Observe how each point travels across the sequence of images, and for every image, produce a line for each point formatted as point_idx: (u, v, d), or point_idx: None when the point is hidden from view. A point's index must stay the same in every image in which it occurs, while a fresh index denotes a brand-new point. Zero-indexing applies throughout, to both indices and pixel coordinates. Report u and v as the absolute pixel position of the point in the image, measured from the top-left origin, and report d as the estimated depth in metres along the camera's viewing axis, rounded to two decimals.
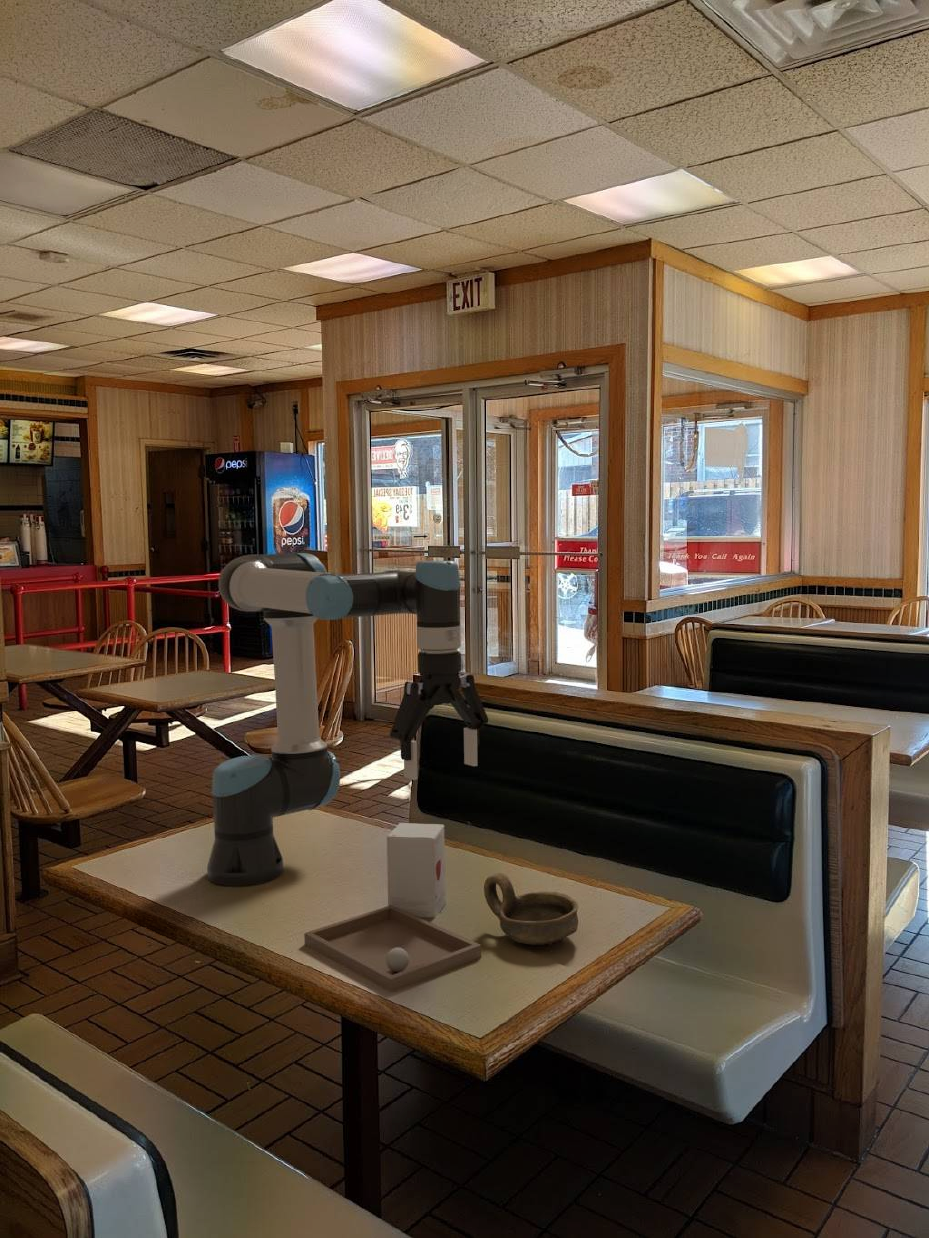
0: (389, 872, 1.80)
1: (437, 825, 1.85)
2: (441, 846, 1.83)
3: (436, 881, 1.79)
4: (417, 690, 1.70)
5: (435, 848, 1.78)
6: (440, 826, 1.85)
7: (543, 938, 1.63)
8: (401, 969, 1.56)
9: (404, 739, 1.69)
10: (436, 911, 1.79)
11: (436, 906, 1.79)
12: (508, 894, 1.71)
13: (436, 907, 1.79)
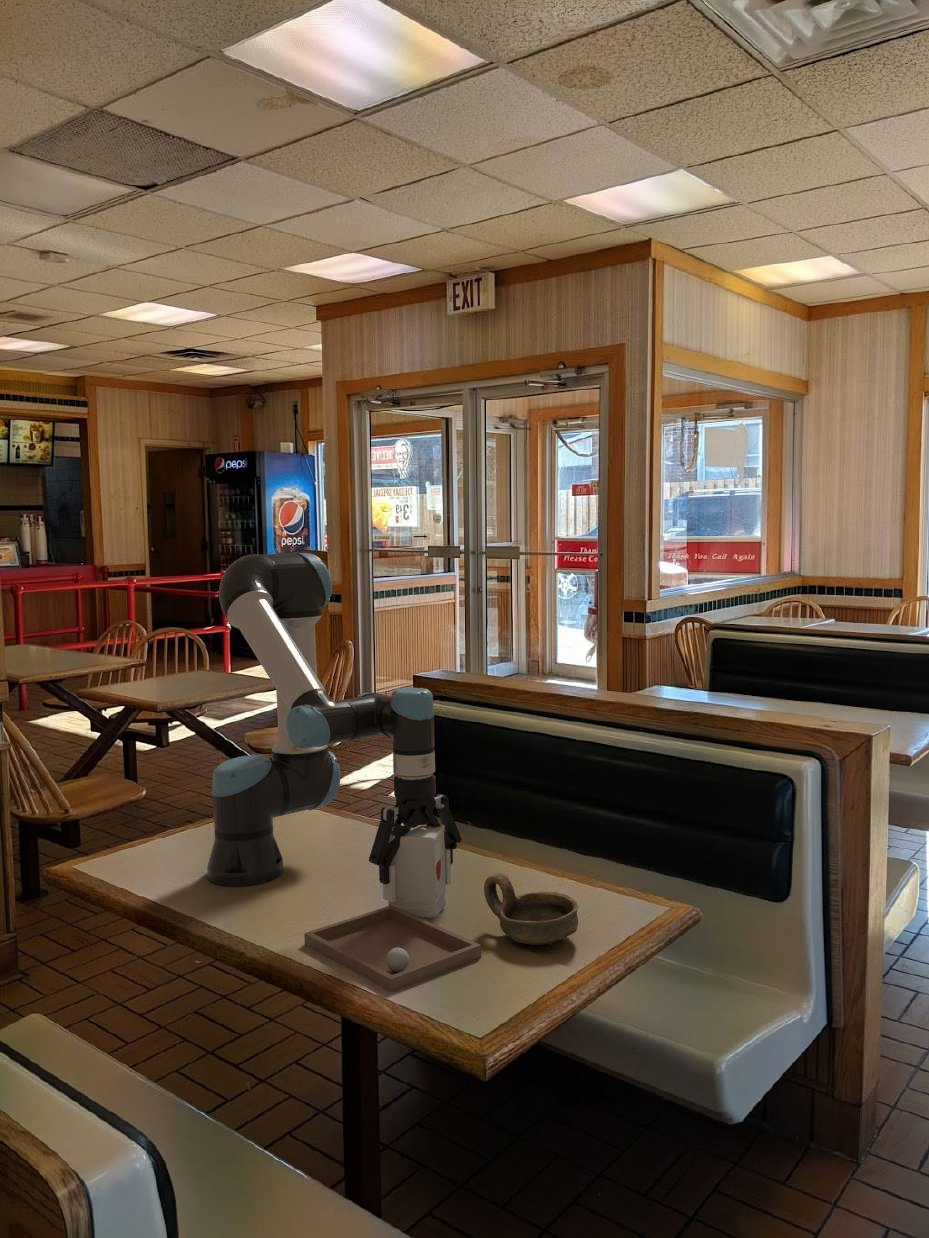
0: None
1: None
2: (441, 846, 1.83)
3: (436, 880, 1.79)
4: (393, 816, 1.77)
5: (435, 848, 1.78)
6: (440, 826, 1.85)
7: (543, 938, 1.63)
8: (401, 969, 1.56)
9: (382, 864, 1.77)
10: (436, 911, 1.79)
11: (436, 906, 1.79)
12: (508, 894, 1.71)
13: (436, 907, 1.79)
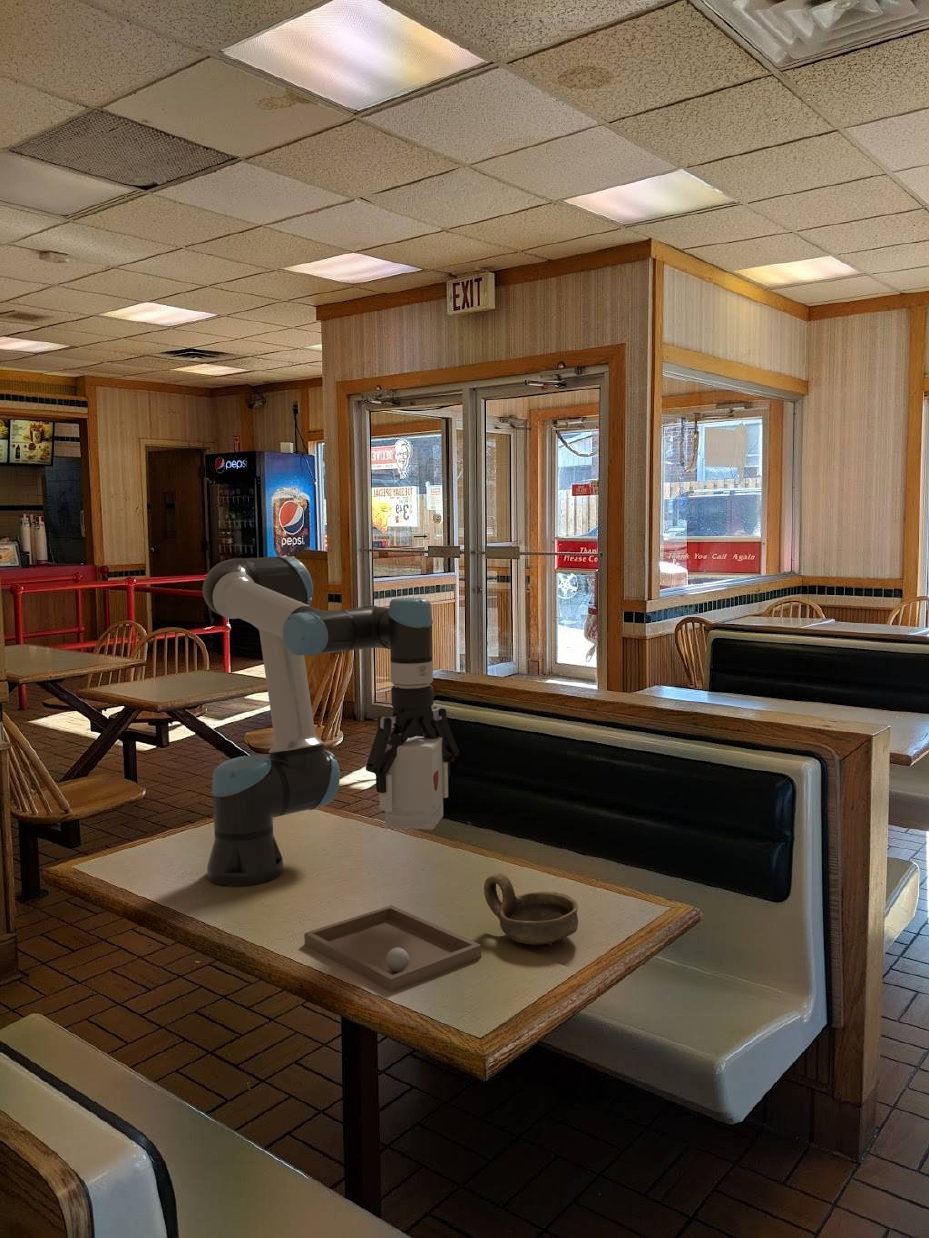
0: None
1: None
2: (439, 757, 1.81)
3: (433, 790, 1.78)
4: (390, 725, 1.76)
5: (433, 758, 1.77)
6: (438, 738, 1.83)
7: (543, 938, 1.63)
8: (401, 969, 1.56)
9: (379, 773, 1.76)
10: (433, 821, 1.78)
11: (433, 816, 1.78)
12: (508, 894, 1.71)
13: (433, 817, 1.78)
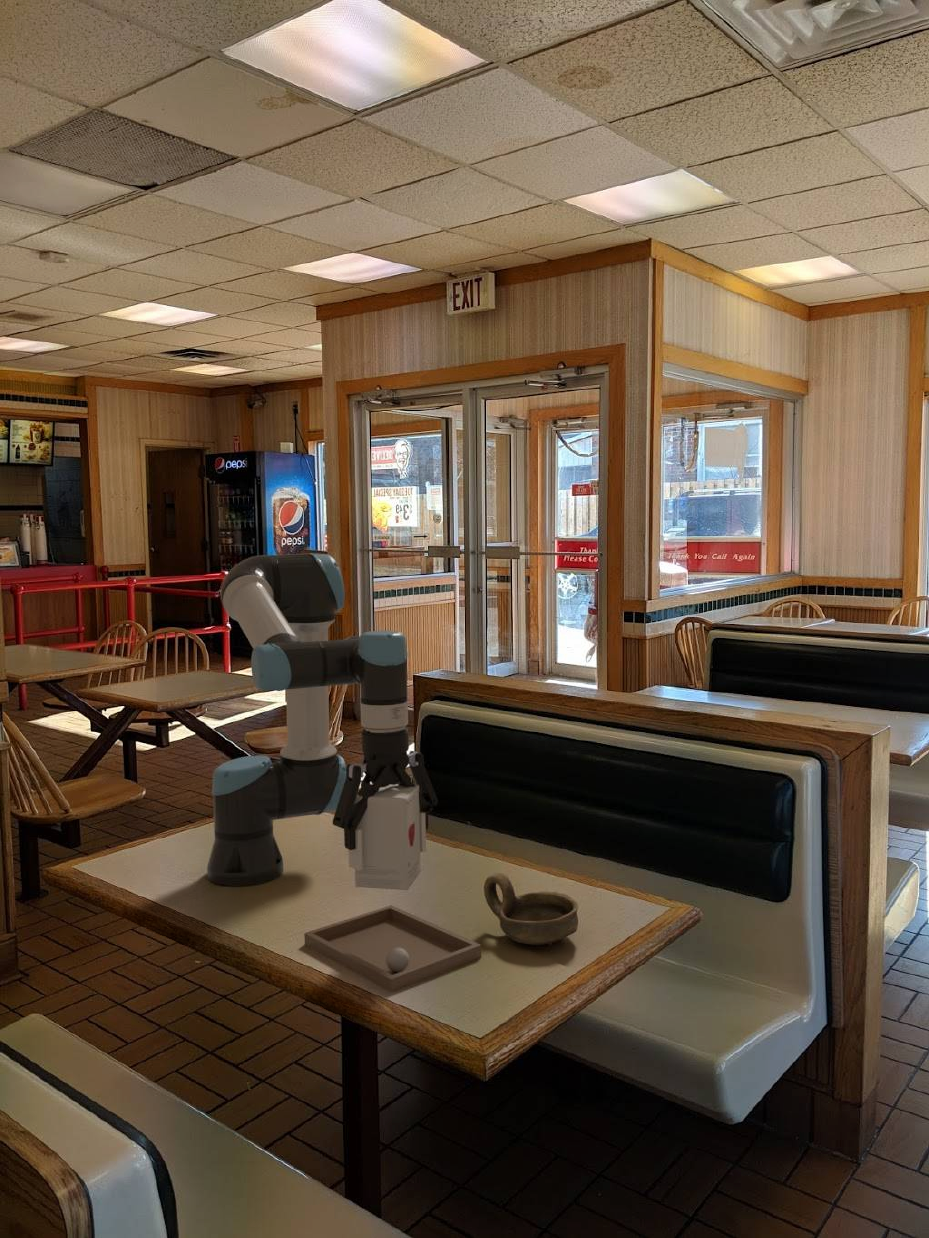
0: None
1: None
2: (415, 808, 1.63)
3: (409, 846, 1.59)
4: (360, 774, 1.58)
5: (408, 810, 1.59)
6: None
7: (543, 938, 1.63)
8: (401, 969, 1.56)
9: (348, 827, 1.57)
10: (409, 880, 1.60)
11: (409, 875, 1.60)
12: (508, 894, 1.71)
13: (409, 876, 1.60)
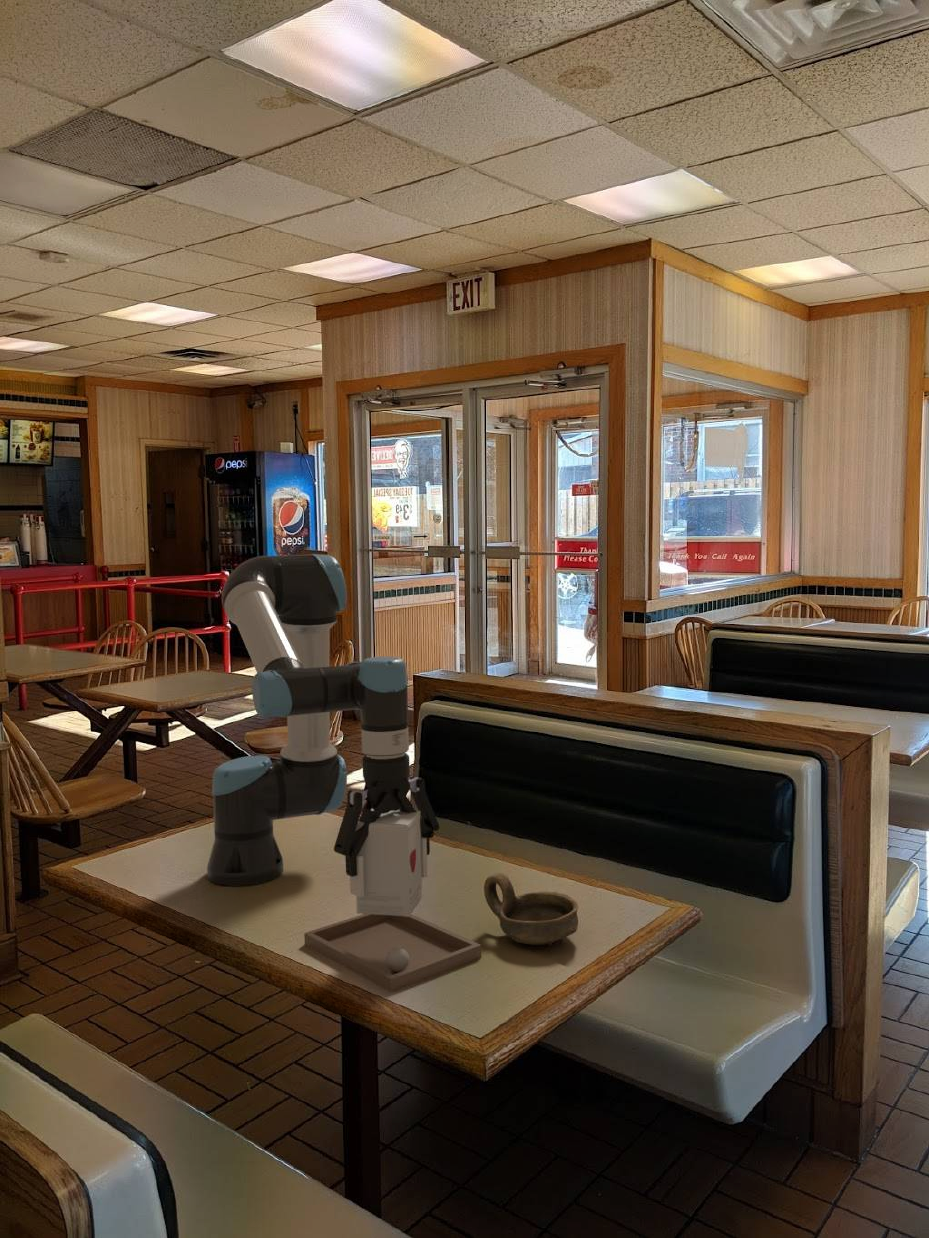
0: None
1: None
2: (416, 834, 1.63)
3: (410, 872, 1.59)
4: (361, 800, 1.58)
5: (409, 836, 1.59)
6: (415, 812, 1.65)
7: (543, 938, 1.63)
8: (401, 969, 1.56)
9: (349, 854, 1.57)
10: (410, 907, 1.60)
11: (410, 901, 1.60)
12: (508, 894, 1.71)
13: (410, 902, 1.60)
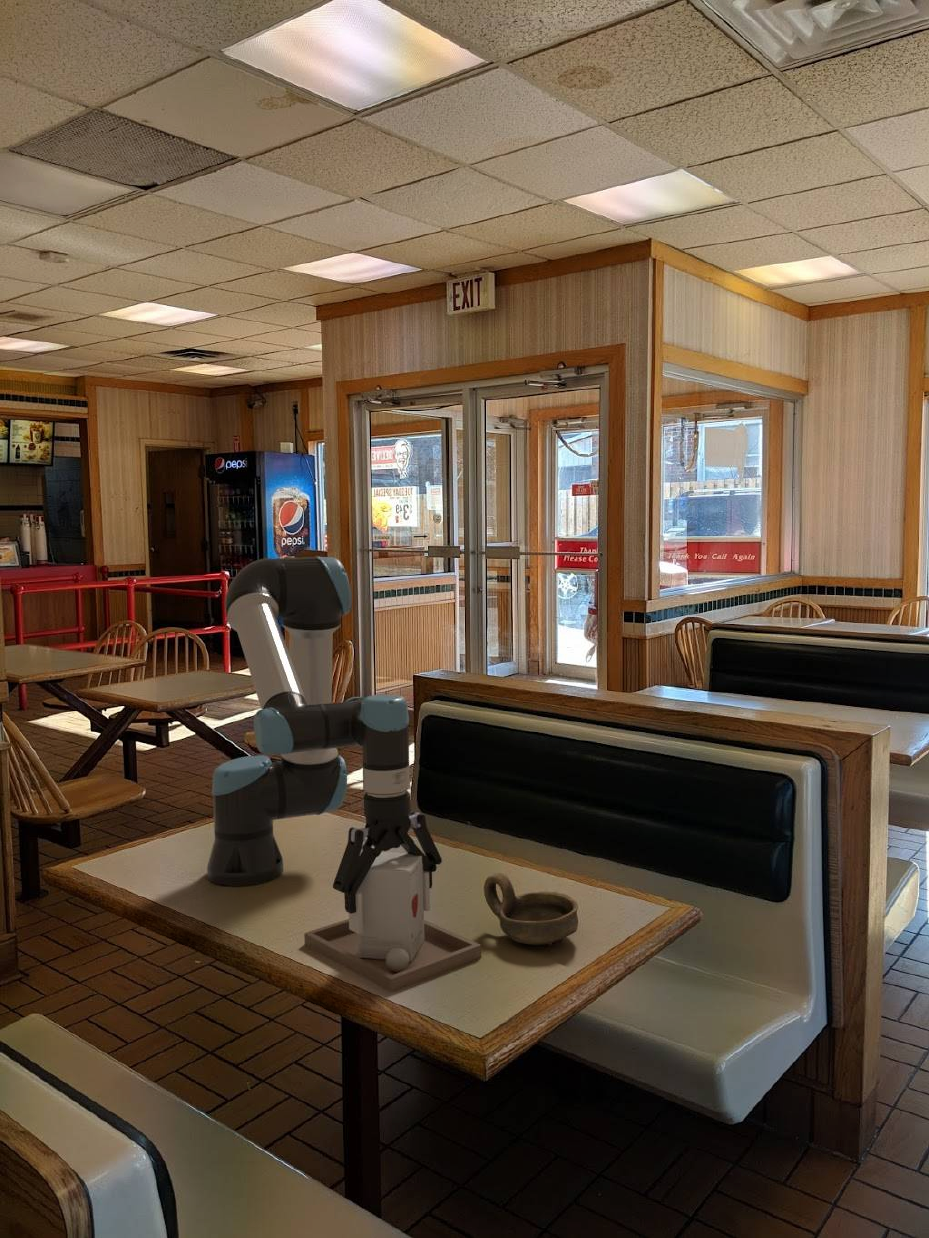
0: None
1: None
2: (418, 878, 1.64)
3: (412, 918, 1.60)
4: (362, 838, 1.58)
5: (411, 882, 1.60)
6: (418, 856, 1.66)
7: (543, 938, 1.63)
8: (401, 969, 1.56)
9: (348, 891, 1.58)
10: (412, 952, 1.61)
11: (412, 946, 1.61)
12: (508, 894, 1.71)
13: (412, 947, 1.61)
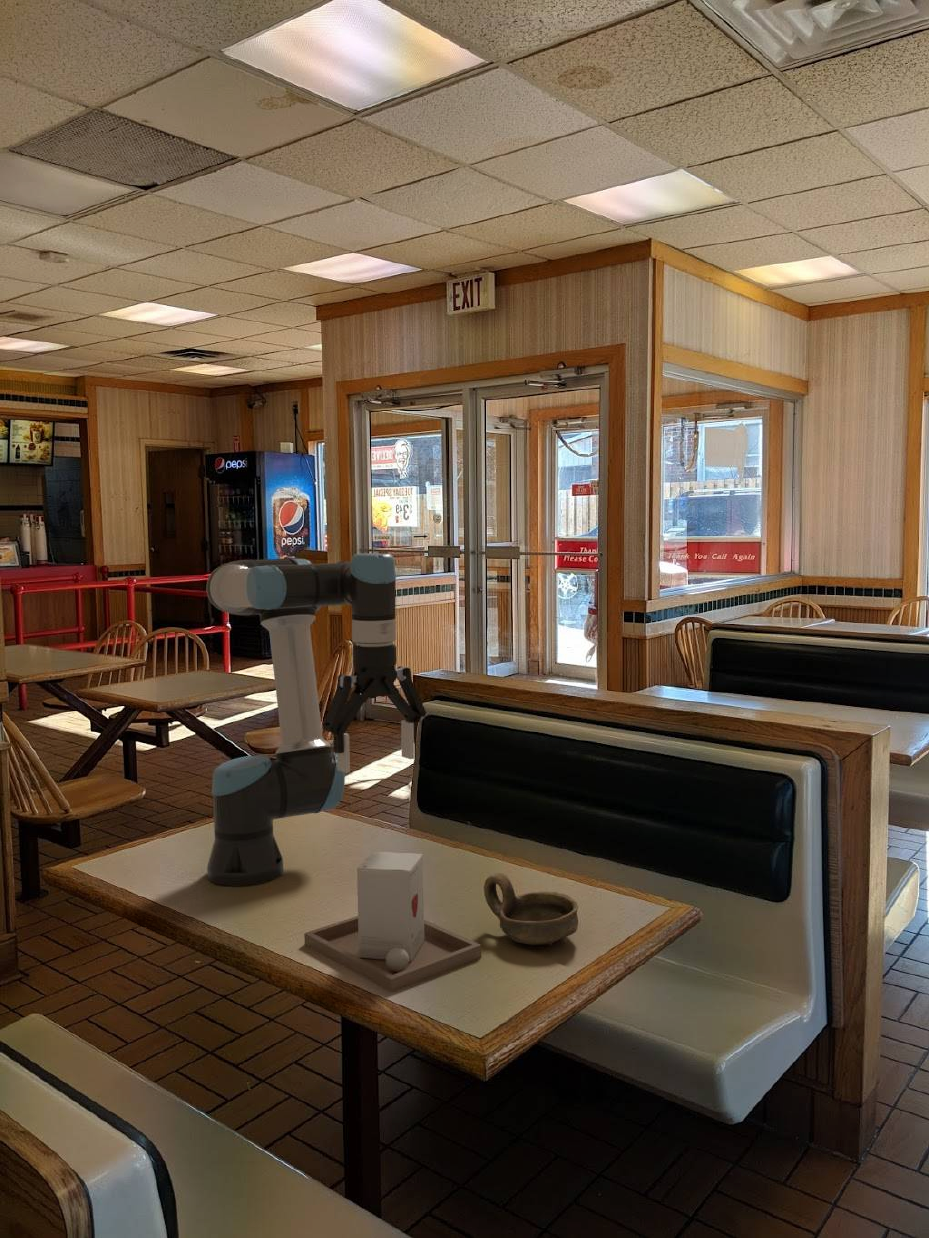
0: (360, 908, 1.61)
1: (414, 855, 1.67)
2: (418, 878, 1.64)
3: (412, 918, 1.60)
4: (350, 683, 1.70)
5: (411, 882, 1.60)
6: (418, 856, 1.66)
7: (543, 938, 1.63)
8: (401, 969, 1.56)
9: (336, 732, 1.69)
10: (412, 952, 1.61)
11: (412, 946, 1.61)
12: (508, 894, 1.71)
13: (412, 947, 1.61)
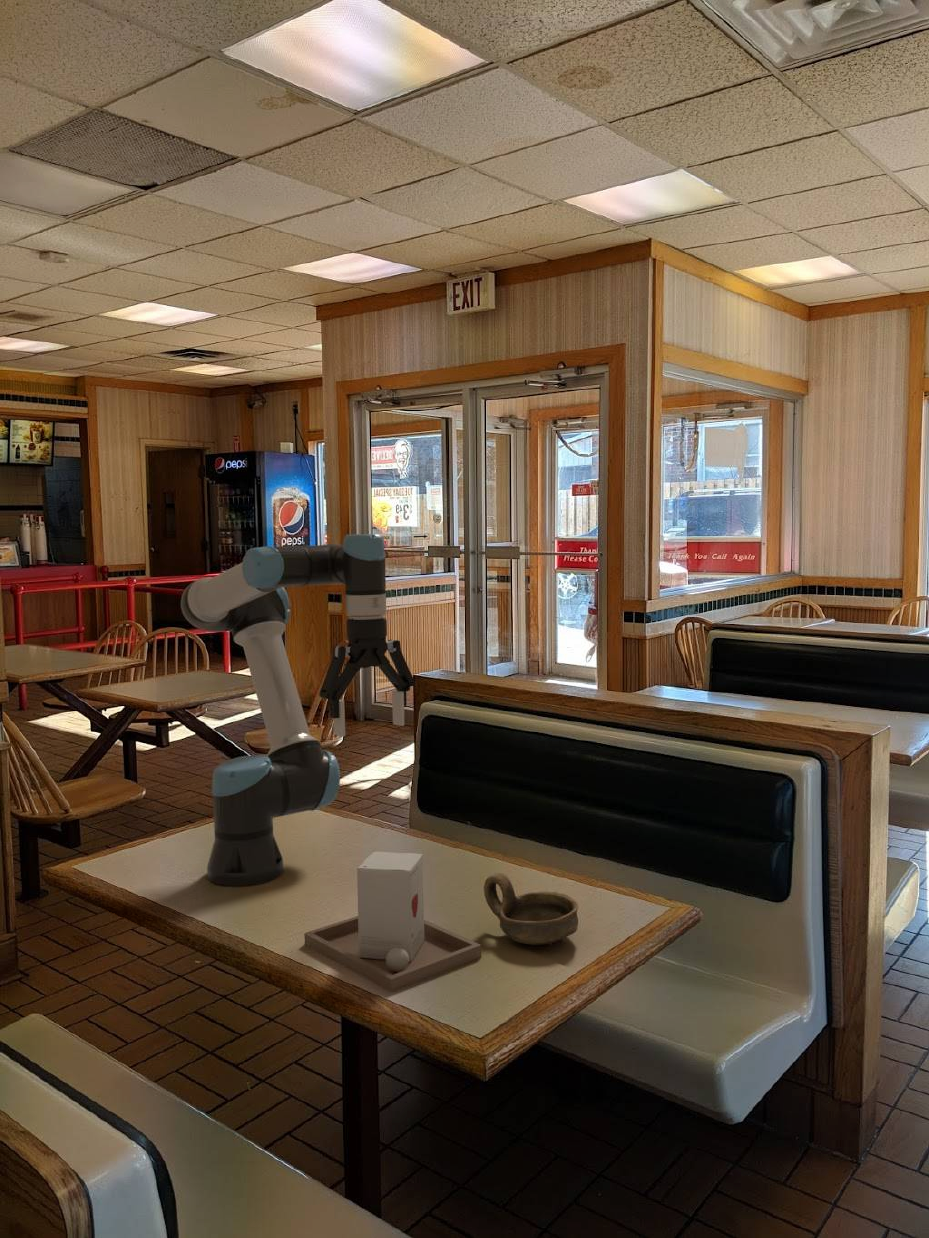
0: (360, 908, 1.61)
1: (414, 855, 1.67)
2: (418, 878, 1.64)
3: (412, 918, 1.60)
4: (344, 653, 1.83)
5: (411, 882, 1.60)
6: (418, 856, 1.66)
7: (543, 938, 1.63)
8: (401, 969, 1.56)
9: (332, 698, 1.83)
10: (412, 952, 1.61)
11: (412, 946, 1.61)
12: (508, 894, 1.71)
13: (412, 947, 1.61)
